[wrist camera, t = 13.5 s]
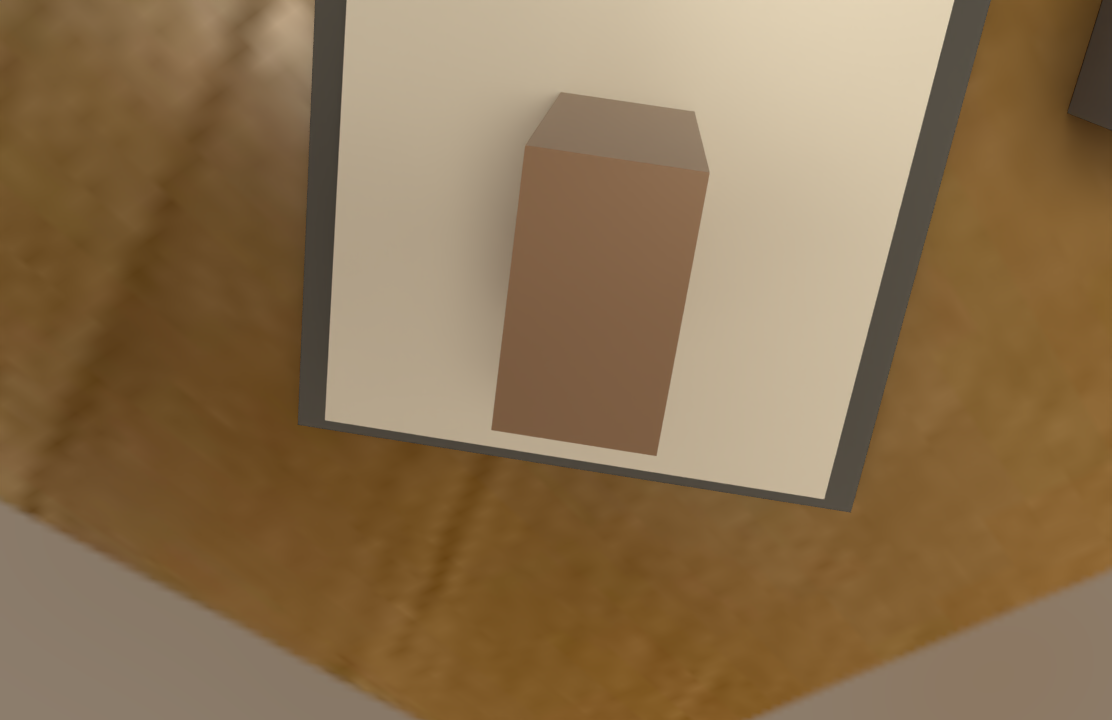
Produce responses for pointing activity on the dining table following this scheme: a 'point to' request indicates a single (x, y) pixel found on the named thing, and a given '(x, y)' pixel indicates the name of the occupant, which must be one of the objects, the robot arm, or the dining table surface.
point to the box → (1096, 74)
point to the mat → (839, 493)
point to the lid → (622, 223)
